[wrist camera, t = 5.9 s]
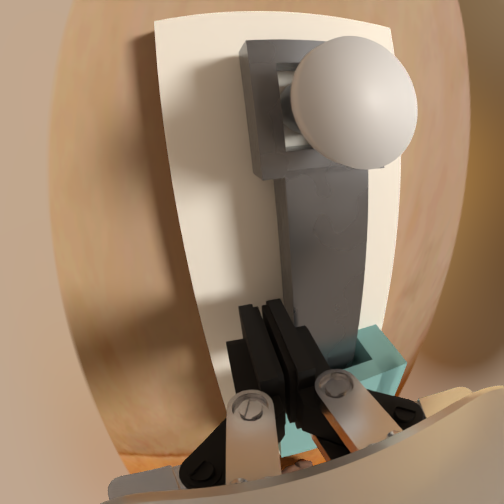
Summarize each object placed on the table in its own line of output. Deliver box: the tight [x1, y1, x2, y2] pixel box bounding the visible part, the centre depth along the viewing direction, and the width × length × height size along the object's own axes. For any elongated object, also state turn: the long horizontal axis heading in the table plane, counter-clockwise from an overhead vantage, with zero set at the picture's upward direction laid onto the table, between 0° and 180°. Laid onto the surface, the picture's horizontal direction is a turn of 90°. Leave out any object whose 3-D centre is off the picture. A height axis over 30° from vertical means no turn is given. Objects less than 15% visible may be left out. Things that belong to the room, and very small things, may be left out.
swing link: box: [238, 39, 384, 370], centre depth 12 cm, size 20×4×2 cm, turn 7°
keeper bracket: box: [278, 324, 407, 458], centre depth 14 cm, size 6×6×3 cm
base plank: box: [154, 11, 417, 454], centre depth 12 cm, size 28×10×5 cm, turn 6°
